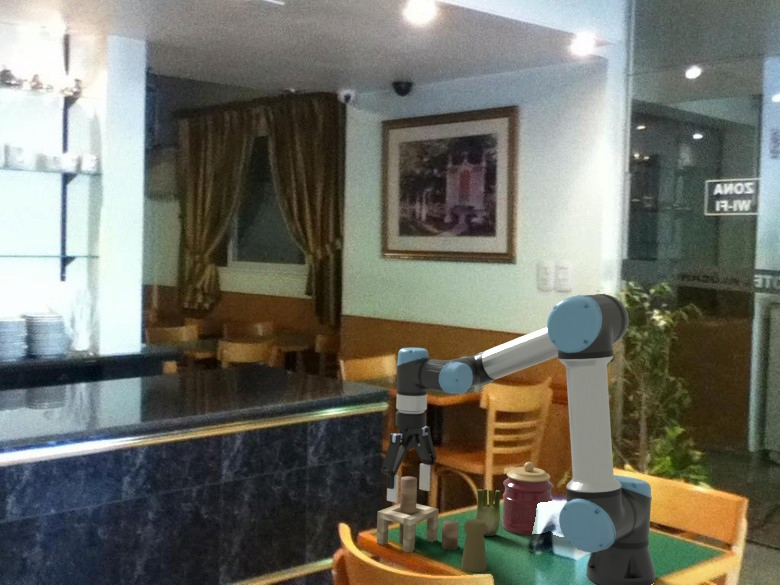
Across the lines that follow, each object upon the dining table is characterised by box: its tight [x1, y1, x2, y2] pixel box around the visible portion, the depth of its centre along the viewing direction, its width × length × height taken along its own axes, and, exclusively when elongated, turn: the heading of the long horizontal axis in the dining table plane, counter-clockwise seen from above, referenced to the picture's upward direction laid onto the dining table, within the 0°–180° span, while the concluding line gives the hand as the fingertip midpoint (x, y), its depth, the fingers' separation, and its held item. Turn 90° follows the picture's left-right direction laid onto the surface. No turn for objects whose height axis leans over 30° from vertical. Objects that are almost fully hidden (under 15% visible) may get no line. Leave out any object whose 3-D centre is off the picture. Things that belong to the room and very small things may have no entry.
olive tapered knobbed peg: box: [460, 518, 488, 573], centre depth 220 cm, size 6×6×11 cm
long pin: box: [398, 476, 418, 545], centre depth 236 cm, size 4×4×16 cm
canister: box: [501, 461, 554, 536], centre depth 250 cm, size 13×13×18 cm
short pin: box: [441, 520, 460, 551], centre depth 233 cm, size 4×4×6 cm
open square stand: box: [376, 503, 439, 553], centre depth 236 cm, size 10×12×8 cm
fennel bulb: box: [474, 488, 501, 537], centre depth 243 cm, size 6×5×12 cm
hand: (408, 495), depth 236 cm, fingers open, 13 cm apart
